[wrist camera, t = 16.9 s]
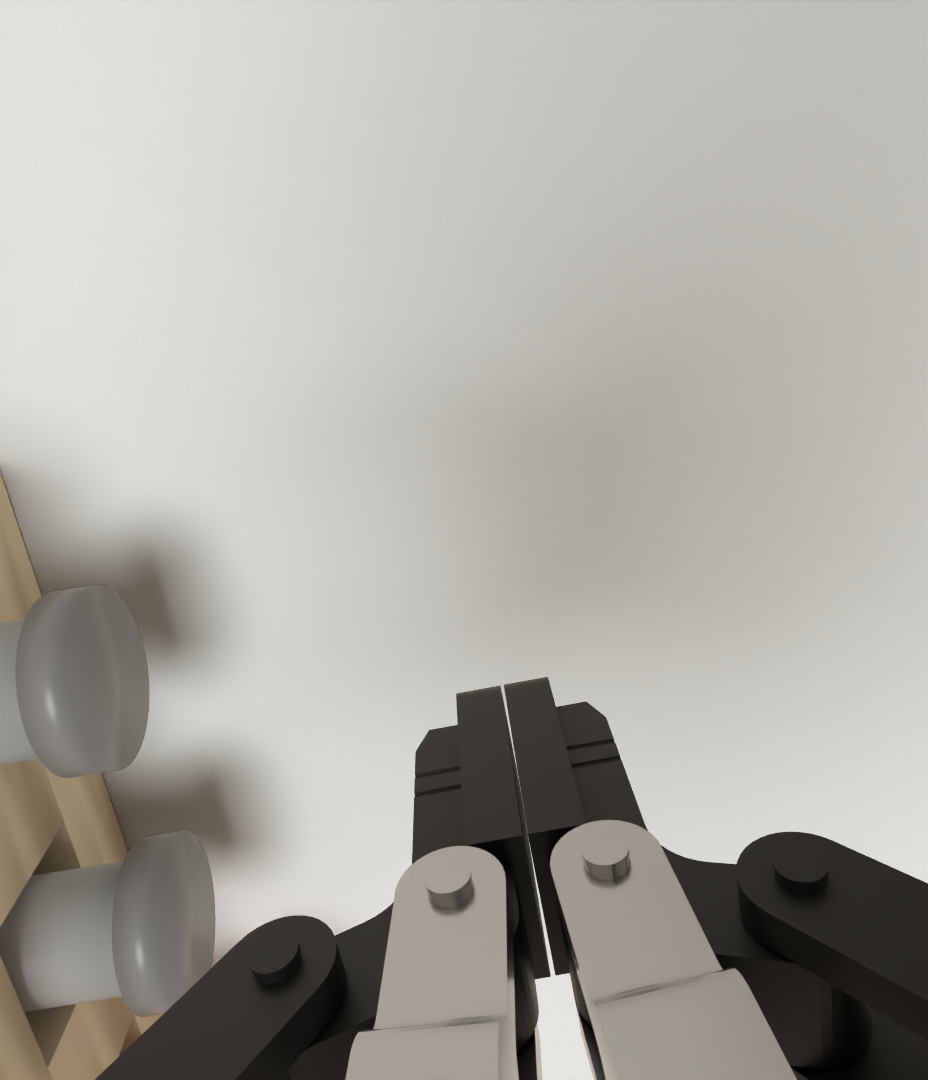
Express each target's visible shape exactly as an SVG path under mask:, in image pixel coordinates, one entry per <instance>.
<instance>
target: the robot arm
mask: <svg viewBox="0 0 928 1080" xmlns="http://www.w3.org/2000/svg"><path fill="white" fill-rule="evenodd" d="M504 688H505V695H506V701H507V707H508V713H509V719H510V726H511V732H512V738H513V744H514V750H515V757H516V763H517V768H516V763H515V758H514V753H513V748H512V743H511V737H510V732H509V727H508V722H507V717H506V712H505V707H504V702H503V696H502V692H501V687H500V686H496V687H490V688H485V689H479V690H474V691H468V692H463V693H457V694H456V699H457V718H458V725H455V726H449V727H444V728H438V729H433V730H429V731H428V733H427V735H426V736H425V738H424V739H423V741H422V743H421V744H420V746H419V747H418V749H417V751H416V760H415V777H416V778H415V791H414V793H415V797H414V822H413V853H412V865H411V866H410V867H409V868H408V869H407V870H406V871H405V873H404V874H403V875H402V877H401V878H400V880H399V882H398V885H397V888H396V892H395V897H394V902H393V903H392V904H391V905H390V906H389V907H388V908H387V909H385V910H384V911H383V912H381V913H380V914H378V915H377V916H375V917H374V918H372V919H370V920H368V921H366V922H364V923H362V924H360V925H357V926H355V927H353V928H351V929H349V930H346V931H344V932H342V933H340V934H338V935H335V936H334V934H333V932H332V930H331V929H330V928H329V927H328V926H327V925H326V924H325V923H324V922H322V921H321V920H319V919H316V918H313V917H309V916H288V917H283V918H279V919H276V920H273V921H271V922H268V923H266V924H264V925H262V926H260V927H258V928H256V929H255V930H253V931H252V932H250V933H249V934H248V935H246V936H245V937H244V938H243V939H242V940H241V941H239V942H238V943H237V944H236V945H235V946H234V947H233V948H232V949H231V950H230V951H229V952H228V953H227V954H226V955H225V956H224V957H223V958H222V959H221V960H219V961H218V962H217V963H216V964H215V965H214V966H213V967H212V968H211V969H210V970H209V971H208V972H207V973H206V974H205V975H204V976H203V977H202V978H201V979H200V980H199V981H197V982H196V983H195V984H194V985H193V986H192V987H191V988H190V989H189V990H188V991H187V992H186V993H185V994H184V995H183V996H182V997H181V998H180V999H179V1000H178V1001H177V1002H175V1003H174V1004H173V1005H172V1006H171V1007H170V1008H169V1009H168V1010H167V1011H166V1012H165V1013H164V1014H163V1015H162V1016H161V1017H160V1018H159V1019H158V1020H157V1021H156V1022H155V1023H154V1024H152V1025H151V1026H150V1027H149V1028H148V1029H147V1030H146V1031H145V1032H144V1033H143V1034H142V1035H141V1036H140V1037H139V1038H138V1039H137V1040H136V1041H135V1042H134V1043H133V1044H132V1045H130V1046H129V1047H128V1048H127V1049H126V1050H125V1051H124V1052H123V1053H122V1054H121V1055H120V1056H119V1057H118V1058H117V1059H116V1060H115V1061H114V1062H113V1063H112V1064H111V1065H110V1066H108V1067H107V1068H106V1069H105V1070H104V1071H103V1072H102V1073H101V1074H100V1075H99V1076H98V1077H97V1078H96V1079H95V1080H542V1069H541V1050H540V1037H539V1031H538V1026H537V1021H538V1014H539V1011H538V1000H537V993H536V985H535V979H539V978H545V977H551V976H550V970H549V963H548V957H547V951H546V945H545V939H544V932H543V926H542V920H541V914H540V907H539V901H538V895H537V889H536V882H535V876H534V870H533V864H532V857H533V863H534V868H535V873H536V878H537V883H538V888H539V893H540V898H541V903H542V908H543V914H544V919H545V924H546V929H547V934H548V939H549V944H550V949H551V954H552V960H553V965H554V970H555V975H560V974H566V973H570V976H571V981H572V987H573V992H574V997H575V1001H576V1007H577V1012H578V1018H579V1023H580V1028H581V1034H582V1037H583V1041H584V1045H585V1048H586V1052H587V1056H588V1059H589V1063H590V1067H591V1070H592V1074H593V1078H594V1080H928V883H925V882H923V881H921V880H919V879H916V878H914V877H912V876H910V875H908V874H905V873H903V872H901V871H899V870H896V869H894V868H892V867H890V866H887V865H885V864H883V863H881V862H879V861H876V860H874V859H872V858H870V857H867V856H865V855H863V854H861V853H858V852H856V851H854V850H852V849H850V848H847V847H845V846H843V845H841V844H838V843H836V842H834V841H832V840H829V839H827V838H824V837H821V836H817V835H814V834H809V833H802V832H781V833H775V834H770V835H767V836H764V837H761V838H759V839H757V840H755V841H754V842H752V843H751V844H750V845H748V846H747V847H746V848H745V849H744V850H743V852H742V853H741V855H740V857H739V859H738V861H737V864H725V863H712V862H703V861H697V860H692V859H688V858H685V857H682V856H680V855H677V854H675V853H673V852H671V851H669V850H667V849H666V848H664V847H663V846H661V845H660V844H659V842H658V840H657V839H656V838H655V837H654V836H653V835H652V834H651V833H649V832H648V830H647V828H646V826H645V824H644V821H643V818H642V815H641V813H640V810H639V807H638V804H637V802H636V799H635V796H634V793H633V791H632V788H631V785H630V782H629V780H628V777H627V774H626V771H625V769H624V766H623V763H622V760H621V759H620V755H619V752H618V749H617V747H616V744H615V743H614V738H613V736H612V733H611V730H610V727H609V725H608V722H607V719H606V717H605V716H604V715H602V714H601V713H600V712H599V711H597V710H596V709H595V708H594V707H592V706H591V705H590V704H589V703H587V702H581V703H576V704H570V705H565V706H559V707H556V706H555V702H554V699H553V695H552V691H551V687H550V683H549V680H548V677H544V678H539V679H533V680H528V681H522V682H517V683H511V684H506V685H504ZM517 769H518V774H517ZM518 775H519V779H518ZM519 782H520V784H519ZM520 788H521V790H520ZM521 794H522V796H521ZM522 800H523V801H522ZM523 806H524V808H523ZM524 813H525V814H524ZM525 819H526V820H525ZM526 825H527V826H526ZM527 831H528V832H527ZM528 837H529V839H528ZM529 842H530V845H529ZM530 847H531V851H530ZM531 852H532V857H531Z"/></svg>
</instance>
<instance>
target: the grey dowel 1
mask: <svg viewBox="0 0 928 1080" xmlns="http://www.w3.org/2000/svg"><path fill="white" fill-rule="evenodd" d="M148 711H149V677H148V668H147V661H146V655H145V650H144V645H143V642H142V638H141V634H140V631H139V628H138V625H137V623H136V620H135V618H134V616H133V614H132V612H131V610H130V608H129V606H128V605H127V603H126V601H125V600H124V599H123V597H122V596H121V595H120V594H119V593H118V592H117V591H116V590H114V589H113V588H112V587H110V586H107V585H103V584H98V585H92V586H85V587H79V588H72V589H65V590H59V591H52V592H48V593H46V594H43V595H42V596H41V597H39V598H38V599H37V600H36V601H35V602H34V603H33V605H32V606H31V608H30V609H29V611H28V613H27V615H26V617H25V619H21V620H15V621H8V622H1V623H0V765H1V764H7V763H14V762H20V761H26V760H33V759H39V760H40V761H41V763H42V764H43V765H44V766H45V767H46V768H47V769H48V770H49V771H51V772H52V773H53V774H55V775H57V776H59V777H63V778H74V777H80V776H86V775H93V774H99V773H106V772H112V771H119V770H122V769H124V768H126V767H127V766H128V765H130V764H131V762H132V761H133V760H134V759H135V757H136V755H137V754H138V752H139V749H140V747H141V745H142V742H143V739H144V735H145V731H146V726H147V720H148Z"/></svg>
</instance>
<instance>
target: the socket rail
mask: <svg viewBox="0 0 928 1080" xmlns="http://www.w3.org/2000/svg"><path fill="white" fill-rule="evenodd" d="M41 596H42V595H41V592H40V589H39V586H38V583H37V580H36V577H35V574H34V571H33V568H32V565H31V562H30V559H29V556H28V553H27V550H26V547H25V544H24V541H23V538H22V535H21V532H20V529H19V526H18V524H17V521H16V518H15V515H14V512H13V509H12V506H11V503H10V500H9V497H8V494H7V491H6V488H5V485H4V482H3V479H2V476H1V473H0V623H1V622H8V621H15V620H21V619H25V617H26V615H27V613H28V611H29V609H30V608H31V606H32V605H33V603H34V602H35V601H36V600H37V599H38V598H39V597H41ZM127 853H128V850H127V847H126V844H125V841H124V838H123V835H122V832H121V829H120V826H119V823H118V820H117V817H116V814H115V811H114V808H113V805H112V802H111V800H110V797H109V794H108V791H107V788H106V785H105V782H104V779H103V776H102V773H99V774H93V775H86V776H80V777H74V778H63V777H59V776H57V775H55V774H53V773H52V772H51V771H49V770H48V769H47V768H46V767H45V766H44V765H43V764H42V763H41V761H40V760H39V759H33V760H26V761H20V762H14V763H7V764H1V765H0V926H1V925H2V923H3V921H4V920H5V918H6V917H7V915H8V913H9V912H10V910H11V908H12V907H13V905H14V903H15V902H16V900H17V898H18V897H19V895H20V893H21V892H22V890H23V888H24V887H25V885H26V884H27V882H28V880H29V879H30V877H31V876H32V875H39V874H45V873H51V872H57V871H64V870H70V869H76V868H83V867H89V866H95V865H102V864H108V863H114V862H121V861H124V859H125V856H126V855H127ZM162 1015H163V1014H161V1015H154V1016H148V1017H139V1016H136V1015H135V1014H134V1013H132V1011H131V1010H130V1009H129V1008H128V1006H127V1005H126V1003H125V1001H124V999H123V997H116V998H110V999H104V1000H97V1001H91V1002H85V1003H79V1004H73V1005H66V1006H60V1007H54V1008H48V1009H42V1010H35V1011H29V1012H24V1010H23V1008H22V1006H21V1003H20V1001H19V999H18V996H17V994H16V992H15V989H14V987H13V984H12V982H11V980H10V977H9V975H8V973H7V970H6V968H5V966H4V963H3V961H2V958H1V956H0V1080H95V1079H96V1078H97V1077H98V1076H99V1075H100V1074H101V1073H102V1072H103V1071H104V1070H105V1069H106V1068H107V1067H108V1066H110V1065H111V1064H112V1063H113V1062H114V1061H115V1060H116V1059H117V1058H118V1057H119V1056H120V1055H121V1054H122V1053H123V1052H124V1051H125V1050H126V1049H127V1048H128V1047H129V1046H130V1045H132V1044H133V1043H134V1042H135V1041H136V1040H137V1039H138V1038H139V1037H140V1036H141V1035H142V1034H143V1033H144V1032H145V1031H146V1030H147V1029H148V1028H149V1027H150V1026H151V1025H152V1024H154V1023H155V1022H156V1021H157V1020H158V1019H159V1018H160V1017H161V1016H162Z"/></svg>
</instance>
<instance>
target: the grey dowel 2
mask: <svg viewBox="0 0 928 1080" xmlns="http://www.w3.org/2000/svg"><path fill="white" fill-rule="evenodd" d="M214 941H215V901H214V890H213V882H212V876H211V871H210V867H209V863H208V859H207V856H206V853H205V851H204V848H203V846H202V844H201V842H200V840H199V839H198V838H197V836H196V835H195V834H194V833H193V832H191V831H189V830H183V831H176V832H170V833H164V834H157V835H151V836H145V837H141V838H140V839H138V840H137V841H136V842H135V843H134V844H133V845H132V846H131V848H130V849H129V851H128V853H127V855H126V856H125V859H124V861H121V862H114V863H108V864H102V865H95V866H89V867H83V868H76V869H70V870H64V871H57V872H51V873H45V874H39V875H32V876H31V877H30V879H29V880H28V882H27V884H26V885H25V887H24V888H23V890H22V892H21V893H20V895H19V897H18V898H17V900H16V902H15V903H14V905H13V907H12V908H11V910H10V912H9V913H8V915H7V917H6V918H5V920H4V921H3V923H2V925H1V926H0V956H1V958H2V961H3V963H4V966H5V968H6V970H7V973H8V975H9V977H10V980H11V982H12V984H13V987H14V989H15V992H16V994H17V996H18V999H19V1001H20V1003H21V1006H22V1008H23V1010H24V1012H29V1011H35V1010H42V1009H48V1008H54V1007H60V1006H66V1005H73V1004H79V1003H85V1002H91V1001H97V1000H104V999H110V998H116V997H123V999H124V1001H125V1003H126V1005H127V1006H128V1008H129V1009H130V1010H131V1011H132V1013H134V1014H135V1015H136V1016H139V1017H148V1016H154V1015H161V1014H164V1013H165V1012H166V1011H167V1010H168V1009H169V1008H170V1007H171V1006H172V1005H173V1004H174V1003H175V1002H177V1001H178V1000H179V999H180V998H181V997H182V996H183V995H184V994H185V993H186V992H187V991H188V990H189V989H190V988H191V987H192V986H193V985H194V984H195V983H196V982H197V981H199V980H200V979H201V978H202V977H203V976H204V975H205V974H206V973H207V972H208V971H209V970H210V969H211V964H212V959H213V951H214Z"/></svg>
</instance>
